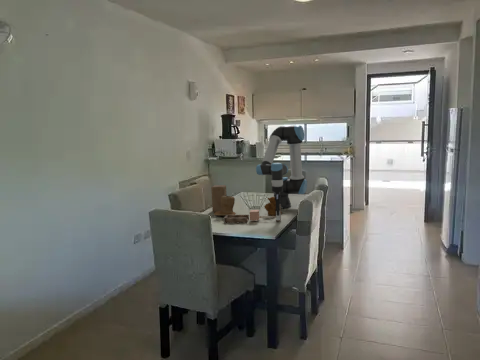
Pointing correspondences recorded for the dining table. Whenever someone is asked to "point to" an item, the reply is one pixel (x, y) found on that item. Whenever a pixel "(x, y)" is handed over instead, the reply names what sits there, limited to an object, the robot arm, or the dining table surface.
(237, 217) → the walnut lane
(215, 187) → the wooden block
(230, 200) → the brown boot
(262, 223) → the dining table surface
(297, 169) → the robot arm
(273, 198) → the stuffed squirrel
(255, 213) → the corded block
